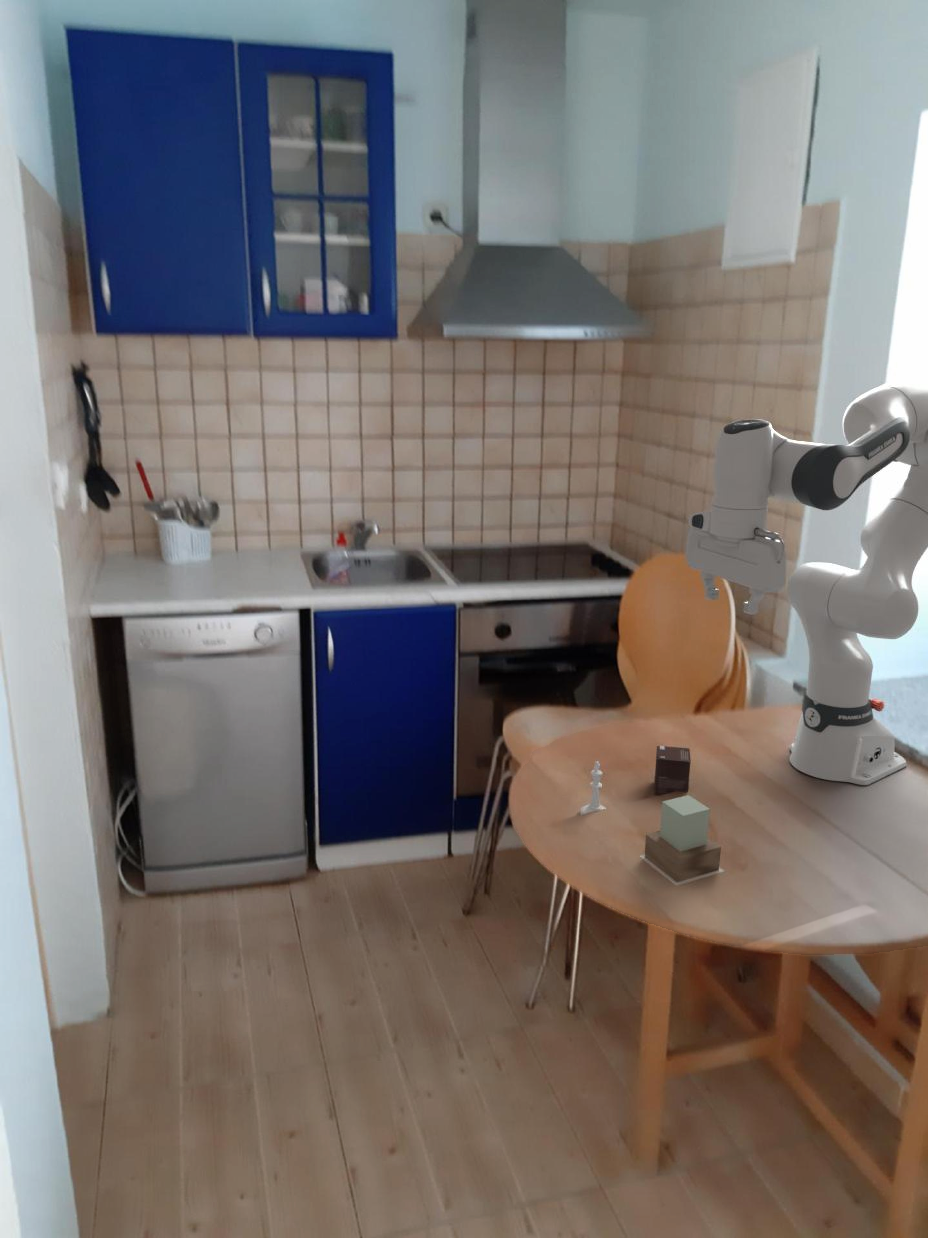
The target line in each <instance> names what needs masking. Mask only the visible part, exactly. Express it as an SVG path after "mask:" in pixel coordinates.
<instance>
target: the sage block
mask: <svg viewBox="0 0 928 1238" xmlns="http://www.w3.org/2000/svg"><path fill="white" fill-rule="evenodd" d="M710 809H711V808H709V807H707V806H706V805H704V804H703V803H701V802H700V801H698V800H697V799H695V798H694V797H692V796H690V795H689V794H687V795H683V796H680V797H675V798H672V799H667V800H664V801H662V802H661V817H660V830H659V831H660V837H661V838H663V839H664V840H665V841H667V842H668V843H669V844H671V845H672V846H673V847H675V848H676V849H677V850H679V851H680V852H681V851H685V850H688V849H692V848H695V847H699V846H703V845H706V844H707V837H708V832H709V821H710Z"/></svg>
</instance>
